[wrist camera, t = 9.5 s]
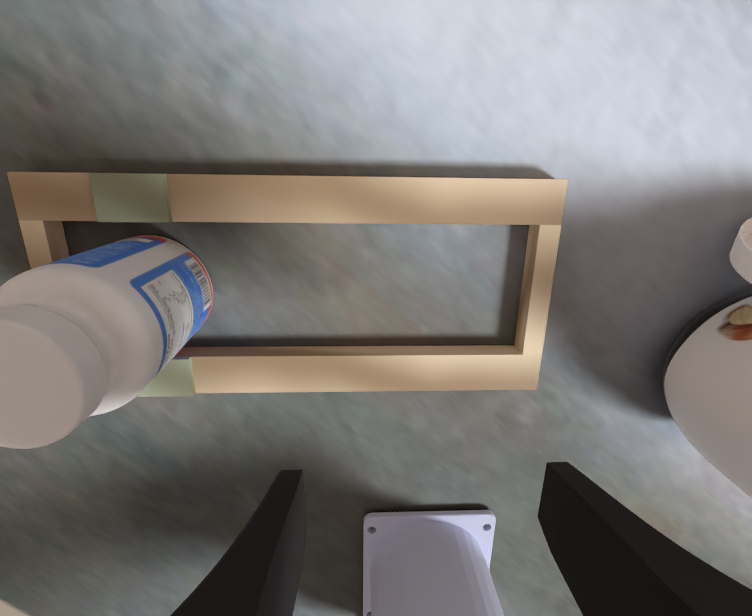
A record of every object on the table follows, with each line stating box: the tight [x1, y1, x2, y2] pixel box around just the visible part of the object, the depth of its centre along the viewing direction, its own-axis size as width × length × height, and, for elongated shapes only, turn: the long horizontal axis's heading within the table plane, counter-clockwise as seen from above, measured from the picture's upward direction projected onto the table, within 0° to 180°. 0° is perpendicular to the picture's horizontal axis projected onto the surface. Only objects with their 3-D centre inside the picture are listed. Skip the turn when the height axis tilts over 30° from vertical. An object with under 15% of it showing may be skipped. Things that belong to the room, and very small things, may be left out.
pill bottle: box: [0, 235, 213, 449], centre depth 16 cm, size 6×5×10 cm
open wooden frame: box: [7, 172, 568, 397], centre depth 20 cm, size 10×24×2 cm, turn 89°
